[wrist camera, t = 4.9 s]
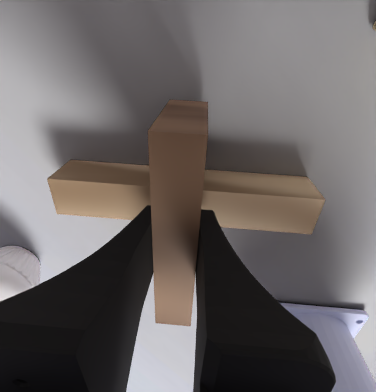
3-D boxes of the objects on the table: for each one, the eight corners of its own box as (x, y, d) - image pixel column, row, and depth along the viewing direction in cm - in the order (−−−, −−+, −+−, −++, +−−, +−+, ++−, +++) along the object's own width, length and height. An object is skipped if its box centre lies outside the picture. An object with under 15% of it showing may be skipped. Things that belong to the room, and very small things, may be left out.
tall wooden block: (194, 255, 17) (190, 326, 12) (168, 252, 17) (155, 323, 13) (207, 102, 11) (207, 134, 7) (169, 99, 12) (147, 131, 7)
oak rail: (297, 208, 15) (311, 234, 13) (77, 191, 16) (57, 213, 14) (307, 176, 14) (325, 199, 12) (70, 159, 15) (47, 178, 12)
